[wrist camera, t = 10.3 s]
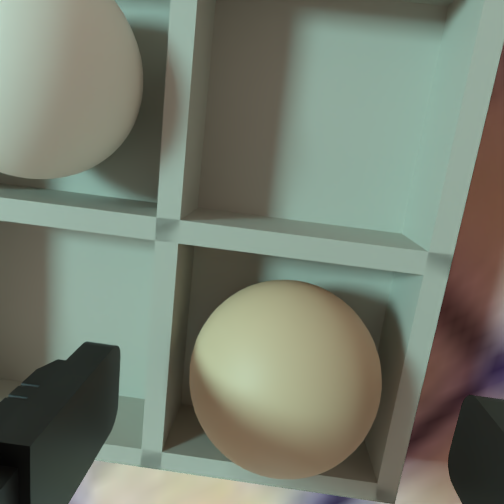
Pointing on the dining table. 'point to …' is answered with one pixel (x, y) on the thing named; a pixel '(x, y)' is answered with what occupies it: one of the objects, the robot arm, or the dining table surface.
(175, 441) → the egg carton
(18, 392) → the robot arm
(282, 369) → the beige sphere
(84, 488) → the dining table surface
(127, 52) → the cream egg
